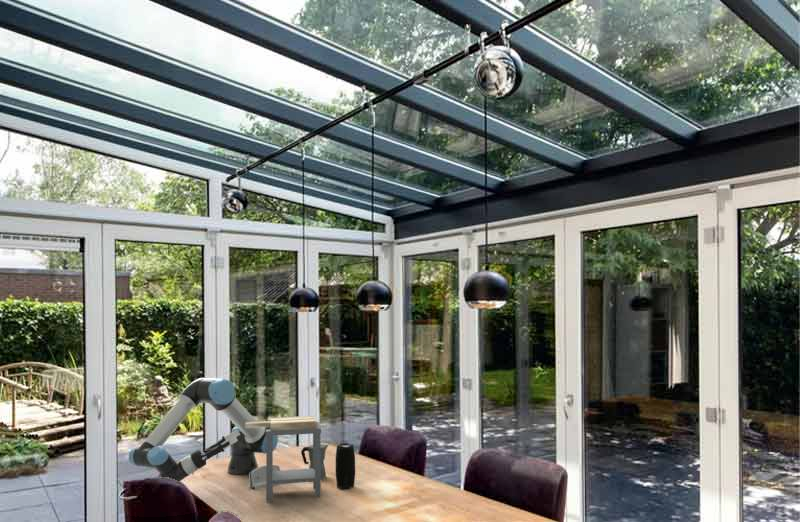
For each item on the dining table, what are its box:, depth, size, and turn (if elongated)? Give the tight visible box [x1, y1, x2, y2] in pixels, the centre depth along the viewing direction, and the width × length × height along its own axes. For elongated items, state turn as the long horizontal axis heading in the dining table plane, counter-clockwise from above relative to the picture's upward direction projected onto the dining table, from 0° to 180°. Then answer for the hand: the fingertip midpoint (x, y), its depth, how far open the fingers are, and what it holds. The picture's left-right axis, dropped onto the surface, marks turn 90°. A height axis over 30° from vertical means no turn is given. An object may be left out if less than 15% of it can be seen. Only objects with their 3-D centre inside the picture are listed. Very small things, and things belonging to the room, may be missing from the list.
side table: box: [265, 421, 322, 503], centre depth 279 cm, size 18×24×30 cm
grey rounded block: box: [248, 464, 281, 491], centre depth 294 cm, size 17×5×10 cm, turn 134°
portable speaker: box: [335, 442, 356, 491], centre depth 287 cm, size 9×9×20 cm
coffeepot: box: [300, 443, 329, 480], centre depth 306 cm, size 15×9×18 cm, turn 129°
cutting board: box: [245, 415, 317, 431], centre depth 279 cm, size 16×31×3 cm, turn 101°
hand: (237, 434), depth 275 cm, fingers open, 13 cm apart
